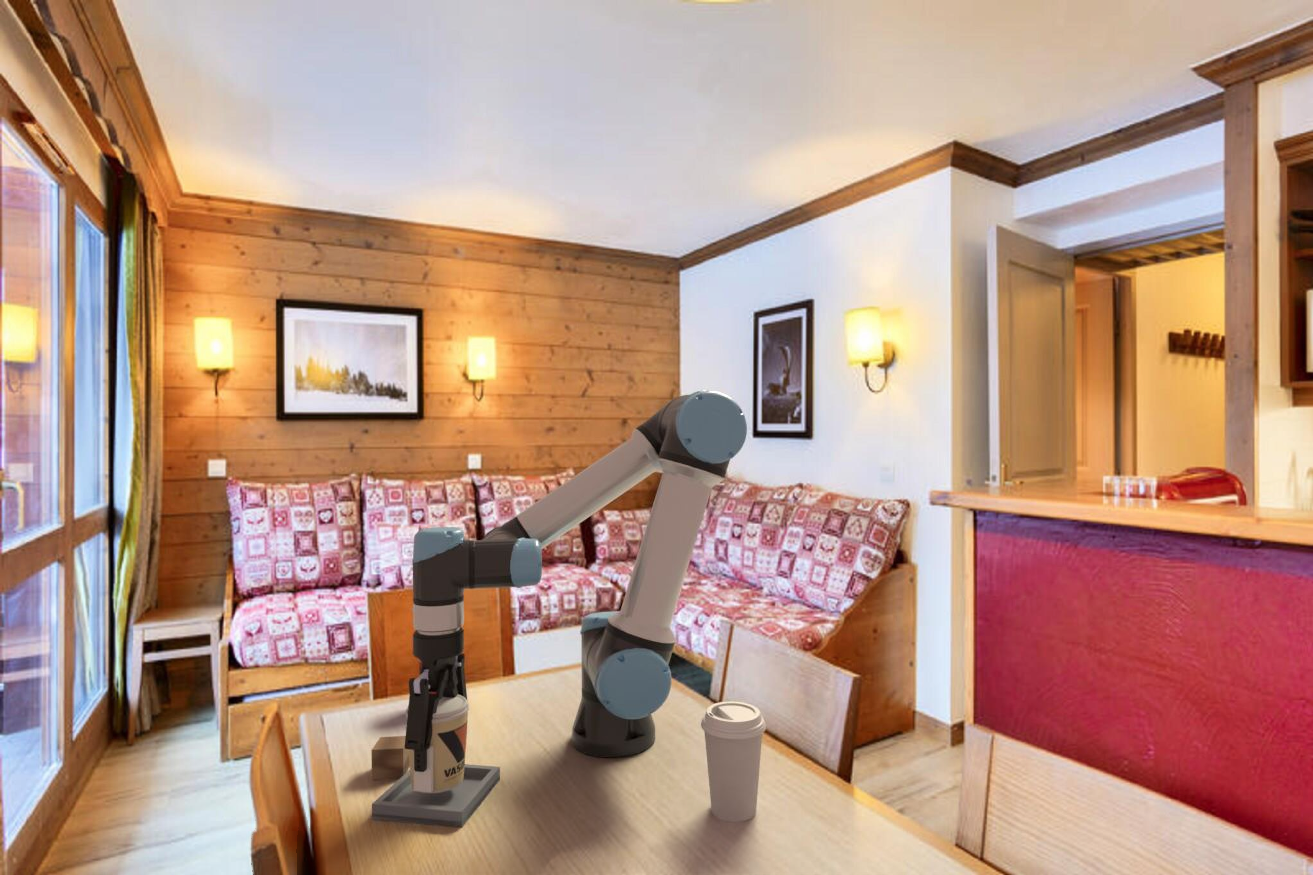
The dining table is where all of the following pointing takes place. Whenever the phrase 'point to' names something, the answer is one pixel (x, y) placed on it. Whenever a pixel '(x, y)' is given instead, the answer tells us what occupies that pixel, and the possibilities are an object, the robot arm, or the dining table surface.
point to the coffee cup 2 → (733, 758)
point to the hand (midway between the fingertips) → (438, 775)
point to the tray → (437, 799)
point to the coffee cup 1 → (447, 743)
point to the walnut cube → (390, 758)
